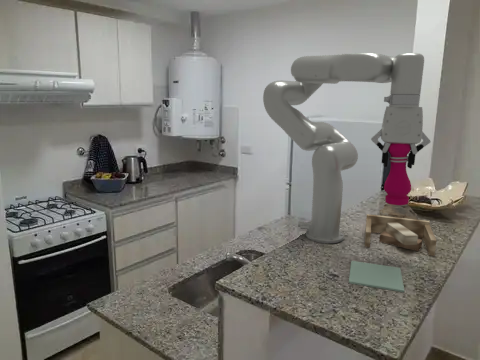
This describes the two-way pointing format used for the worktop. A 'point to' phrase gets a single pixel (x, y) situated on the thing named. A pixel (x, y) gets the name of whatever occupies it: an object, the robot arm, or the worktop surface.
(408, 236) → the birch offcut
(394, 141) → the robot arm
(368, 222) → the oak rack
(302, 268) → the worktop surface
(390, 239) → the walnut offcut
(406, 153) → the pepper mill
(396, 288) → the green mat
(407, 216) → the clay tablet
